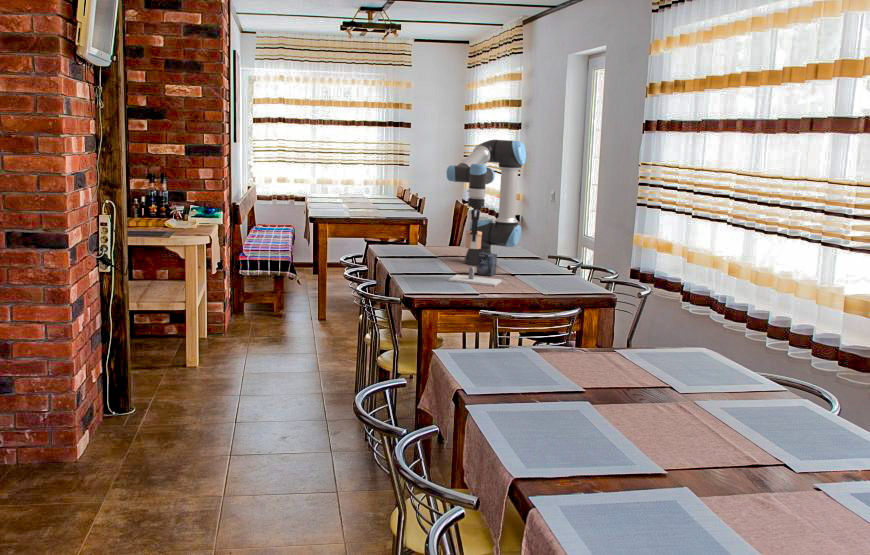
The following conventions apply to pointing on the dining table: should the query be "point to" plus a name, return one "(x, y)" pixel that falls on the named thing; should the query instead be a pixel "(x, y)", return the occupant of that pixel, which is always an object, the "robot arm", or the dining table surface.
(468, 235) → the peach block
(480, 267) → the box
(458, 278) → the white board with peg
